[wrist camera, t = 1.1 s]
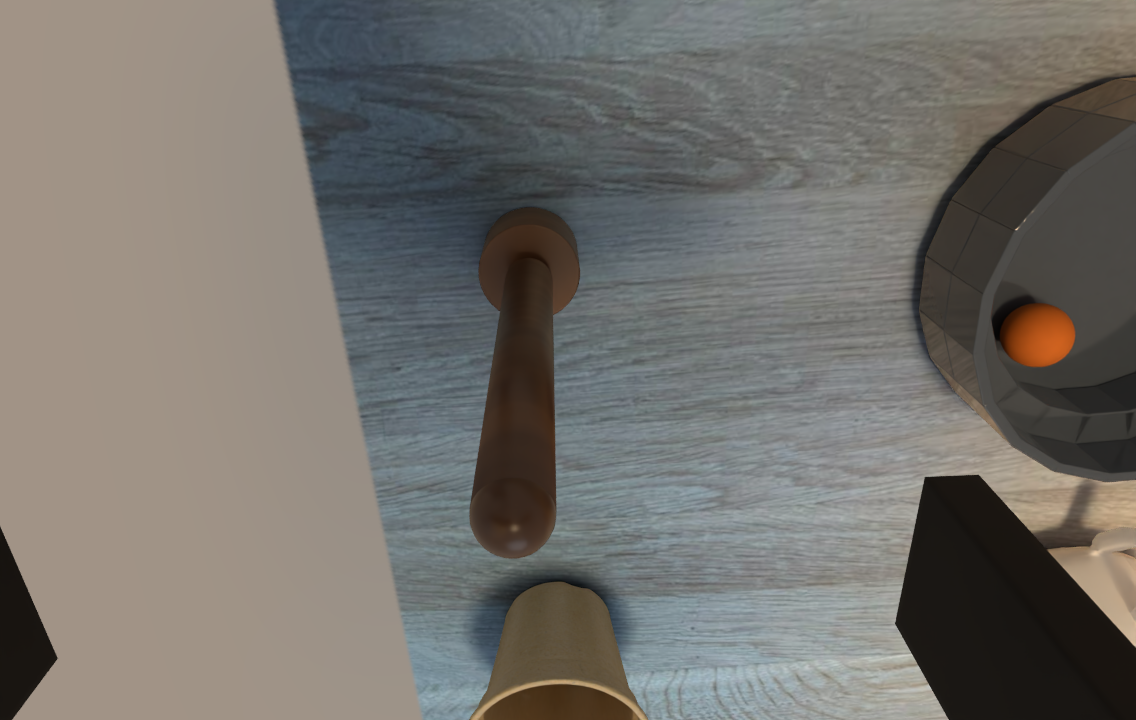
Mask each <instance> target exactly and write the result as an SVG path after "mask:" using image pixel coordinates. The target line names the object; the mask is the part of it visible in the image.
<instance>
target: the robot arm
mask: <svg viewBox="0 0 1136 720" xmlns="http://www.w3.org/2000/svg"><path fill="white" fill-rule="evenodd" d="M895 624H896V626H897V628H898V630H899V631H900V633H901V635H902V637H903V639H904V640H905V642H906V644H907V646H908V648H909V649H910V651H911V653H912V655H913V656H914V658H915V660H916V662H917V664H918V665H919V667H920V669H921V671H922V673H923V674H924V676H925V678H926V680H927V682H928V683H929V685H930V687H931V689H932V691H933V692H934V694H935V696H936V698H937V699H938V701H939V703H940V705H941V707H942V708H943V710H944V712H945V714H946V716H947V717H948V719H949V720H1136V647H1135V646H1134V645H1133V644H1132V643H1131V642H1130V641H1129V640H1128V638H1127V637H1126V636H1125V635H1124V634H1123V633H1122V632H1121V631H1120V630H1119V629H1118V627H1117V626H1116V625H1115V624H1114V623H1113V622H1112V621H1111V620H1110V619H1109V618H1108V616H1107V615H1106V614H1105V613H1104V612H1103V611H1102V610H1101V609H1100V608H1099V607H1098V605H1097V604H1096V603H1095V602H1094V601H1093V600H1092V599H1091V598H1090V597H1089V596H1088V594H1087V593H1086V592H1085V591H1084V590H1083V589H1082V588H1081V587H1080V586H1079V585H1078V583H1077V582H1076V581H1075V580H1074V579H1073V578H1072V577H1071V576H1070V575H1069V574H1068V572H1067V571H1066V570H1065V569H1064V568H1063V567H1062V566H1061V565H1060V564H1059V563H1058V562H1057V560H1056V559H1055V558H1054V557H1053V556H1052V555H1051V554H1050V553H1049V552H1048V551H1047V549H1046V548H1045V547H1044V546H1043V545H1042V544H1041V543H1040V542H1039V541H1038V540H1037V538H1036V537H1035V536H1034V535H1033V534H1032V533H1031V532H1030V531H1029V530H1028V529H1027V527H1026V526H1025V525H1024V524H1023V523H1022V522H1021V521H1020V520H1019V519H1018V518H1017V516H1016V515H1015V514H1014V513H1013V512H1012V511H1011V510H1010V509H1009V508H1008V507H1007V505H1006V504H1005V503H1004V502H1003V501H1002V500H1001V499H1000V498H999V497H998V496H997V494H996V493H995V492H994V491H993V490H992V489H991V488H990V487H989V486H988V485H987V483H986V482H985V481H984V480H983V479H982V478H981V477H980V476H979V475H964V476H939V477H925V479H924V484H923V489H922V494H921V499H920V504H919V509H918V514H917V519H916V524H915V529H914V534H913V538H912V543H911V548H910V553H909V558H908V563H907V568H906V573H905V578H904V583H903V588H902V593H901V597H900V602H899V607H898V612H897V617H896V622H895ZM56 660H57V656H56V654H55V651H54V649H53V647H52V644H51V642H50V640H49V638H48V636H47V633H46V631H45V628H44V626H43V624H42V622H41V619H40V617H39V615H38V612H37V610H36V608H35V605H34V603H33V601H32V599H31V596H30V594H29V592H28V589H27V587H26V585H25V583H24V580H23V578H22V576H21V573H20V571H19V569H18V566H17V564H16V562H15V559H14V557H13V555H12V553H11V550H10V548H9V546H8V544H7V541H6V539H5V536H4V534H3V532H2V530H1V527H0V720H12V719H13V718H14V716H15V715H16V714H17V712H18V711H19V710H20V708H21V707H22V706H23V704H24V703H25V701H26V700H27V699H28V698H29V696H30V695H31V694H32V692H33V691H34V690H35V688H36V687H37V685H38V684H39V683H40V682H41V680H42V679H43V677H44V676H45V675H46V673H47V672H48V671H49V669H50V668H51V667H52V665H53V664H54V663H55V661H56Z"/></svg>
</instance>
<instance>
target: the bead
mask: <svg viewBox="0 0 1136 720" xmlns="http://www.w3.org/2000/svg"><path fill="white" fill-rule="evenodd" d="M1074 341H1075V328H1074V325H1073V323H1072V321H1071V319H1070V318H1069V316H1068V315H1067V314H1066V313H1065V312H1063V311H1062V310H1061V309H1059V308H1057V307H1055V306H1053V305H1049V304H1044V303H1032V304H1027V305H1024V306H1021V307H1019V308H1017V309H1015V310H1014V311H1013V312H1011V313H1010V314H1009V315H1008V316H1007V317H1006V319H1005V320H1004V322H1003V324H1002V326H1001V330H1000V342H1001V345H1002V347H1003V349H1004V351H1005V352H1006V354H1007V355H1008V356H1009V357H1010V358H1011V359H1013V360H1014V361H1016V362H1017V363H1020V364H1022V365H1025V366H1029V367H1045V366H1049V365H1052V364H1054V363H1057V362H1058V361H1060V360H1061V359H1063V358H1064V357H1065V356H1066V355H1067V354H1068V353H1069V352H1070V350H1071V348H1072V347H1073V344H1074Z"/></svg>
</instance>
